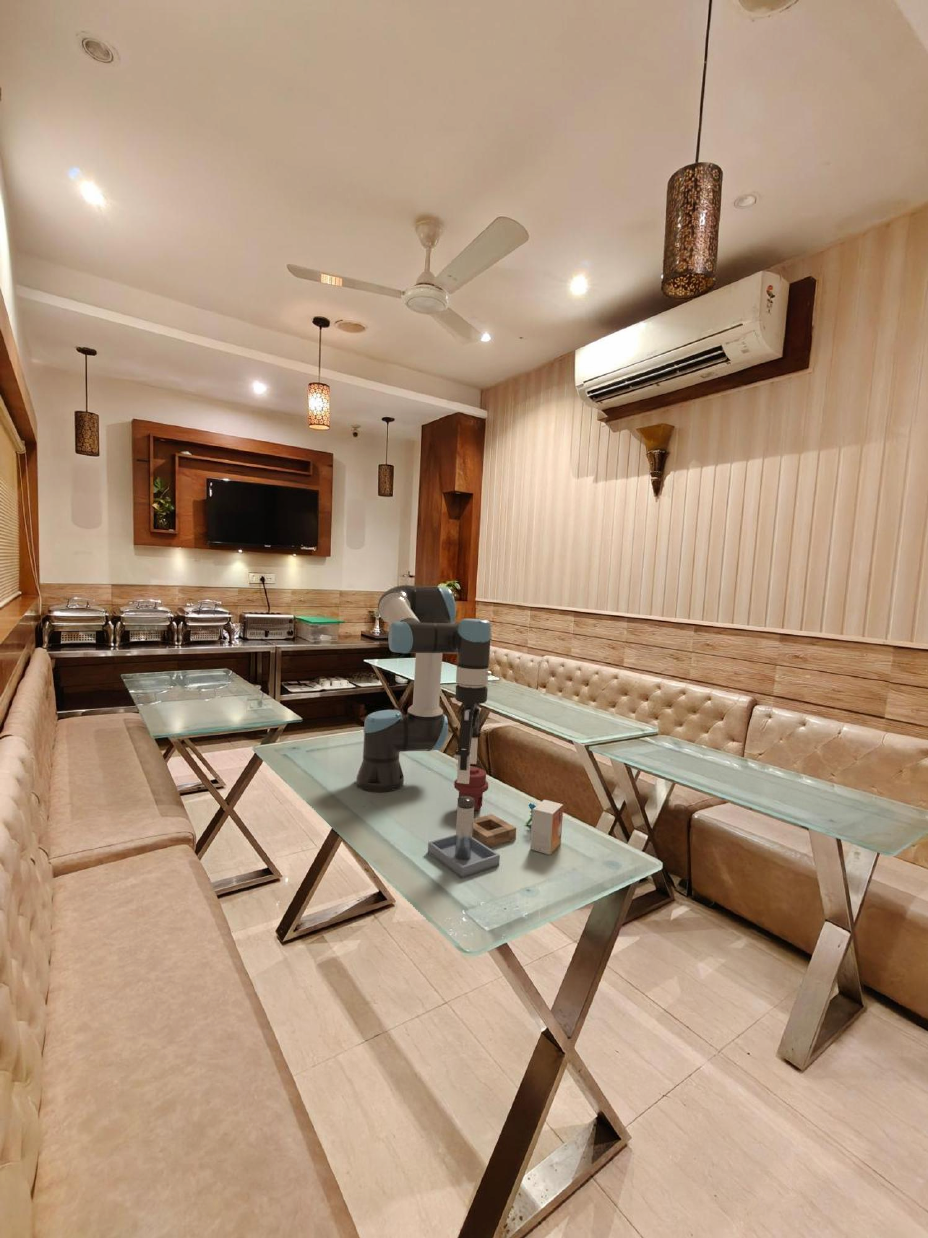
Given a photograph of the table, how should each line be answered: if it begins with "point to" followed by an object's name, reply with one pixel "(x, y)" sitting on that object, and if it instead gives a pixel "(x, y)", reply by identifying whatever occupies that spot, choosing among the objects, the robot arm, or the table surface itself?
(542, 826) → the small box
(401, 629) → the robot arm
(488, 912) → the table surface
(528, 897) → the table surface
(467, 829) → the pin
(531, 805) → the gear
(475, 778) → the mechanical component
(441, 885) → the table surface
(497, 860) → the tray
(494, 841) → the socket
